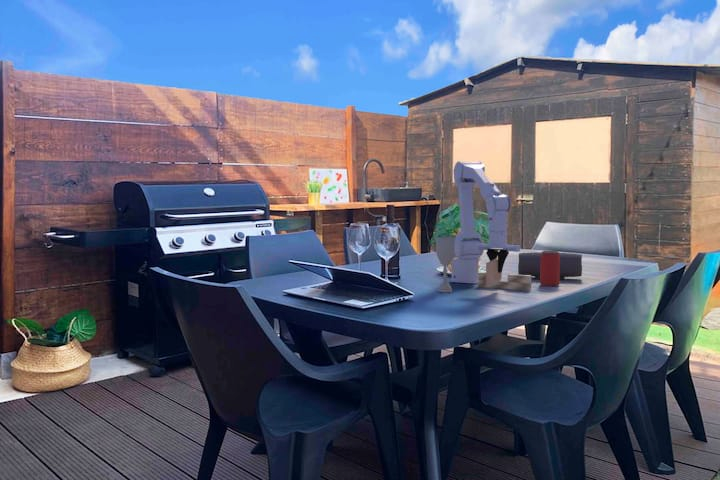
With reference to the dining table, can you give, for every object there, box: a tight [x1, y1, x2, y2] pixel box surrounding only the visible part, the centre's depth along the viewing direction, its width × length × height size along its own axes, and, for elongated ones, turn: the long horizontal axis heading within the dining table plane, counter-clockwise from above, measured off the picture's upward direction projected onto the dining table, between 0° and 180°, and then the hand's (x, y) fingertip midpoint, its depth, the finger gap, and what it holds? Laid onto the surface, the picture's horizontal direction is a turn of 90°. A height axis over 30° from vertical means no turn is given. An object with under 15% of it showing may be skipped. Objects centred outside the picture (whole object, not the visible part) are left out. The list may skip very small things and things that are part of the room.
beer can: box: [539, 250, 561, 288], centre depth 216 cm, size 7×7×12 cm
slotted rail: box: [477, 271, 532, 292], centre depth 211 cm, size 18×2×5 cm, turn 59°
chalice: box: [434, 236, 456, 293], centre depth 206 cm, size 7×7×18 cm
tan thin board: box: [485, 257, 503, 285], centre depth 201 cm, size 1×12×7 cm, turn 149°
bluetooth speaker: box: [517, 251, 583, 280], centre depth 232 cm, size 23×9×10 cm, turn 73°
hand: (497, 272), depth 204 cm, fingers closed on tan thin board, 1 cm apart
